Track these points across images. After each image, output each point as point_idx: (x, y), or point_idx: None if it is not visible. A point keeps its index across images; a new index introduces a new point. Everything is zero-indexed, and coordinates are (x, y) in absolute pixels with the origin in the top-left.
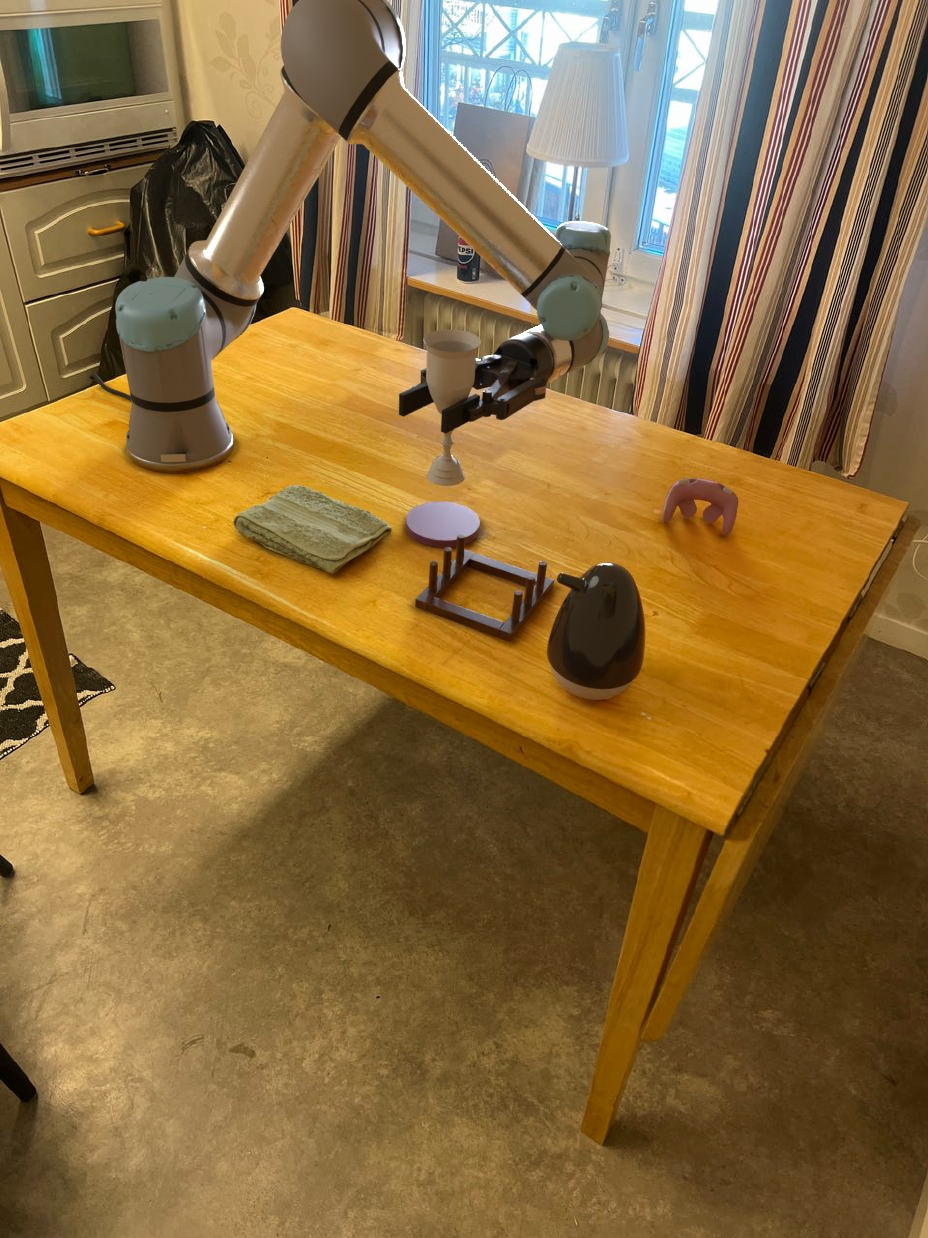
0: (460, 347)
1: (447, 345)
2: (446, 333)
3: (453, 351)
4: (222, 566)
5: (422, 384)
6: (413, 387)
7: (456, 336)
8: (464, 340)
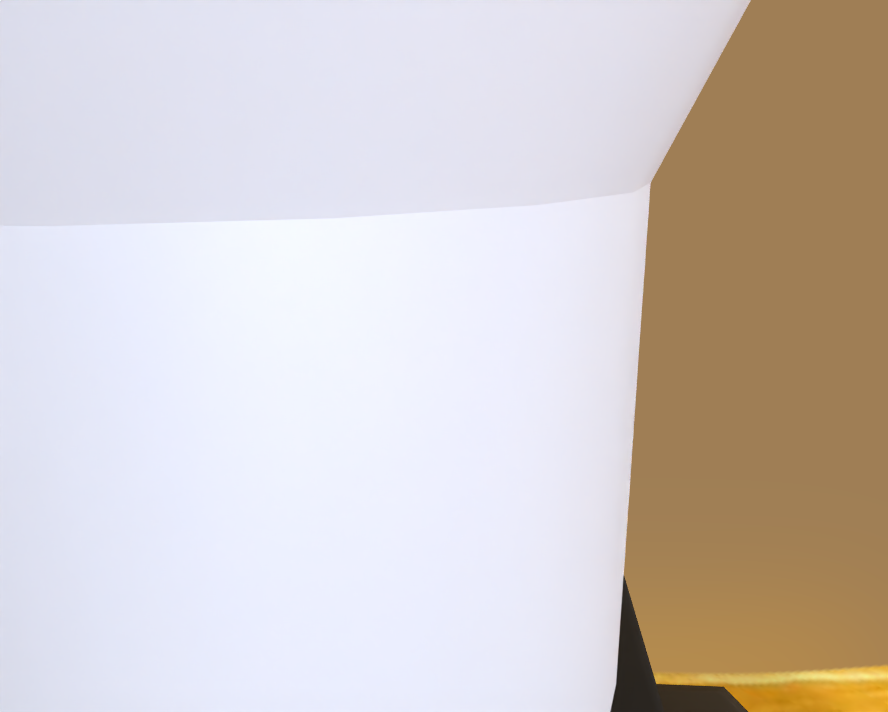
0: (206, 429)
1: (542, 348)
2: (634, 41)
3: (415, 531)
4: (750, 676)
5: (632, 682)
6: (625, 596)
7: (373, 112)
8: (42, 193)
